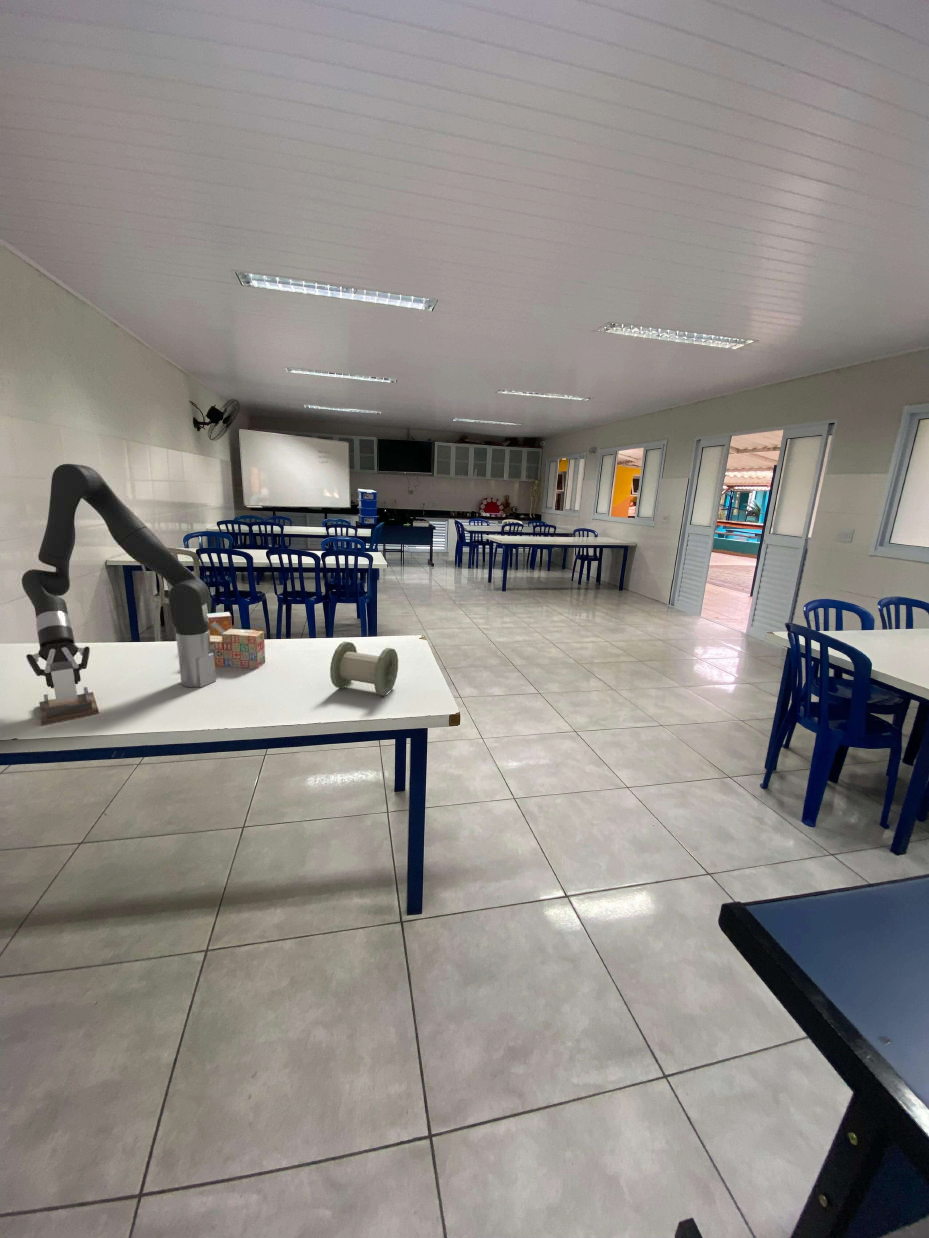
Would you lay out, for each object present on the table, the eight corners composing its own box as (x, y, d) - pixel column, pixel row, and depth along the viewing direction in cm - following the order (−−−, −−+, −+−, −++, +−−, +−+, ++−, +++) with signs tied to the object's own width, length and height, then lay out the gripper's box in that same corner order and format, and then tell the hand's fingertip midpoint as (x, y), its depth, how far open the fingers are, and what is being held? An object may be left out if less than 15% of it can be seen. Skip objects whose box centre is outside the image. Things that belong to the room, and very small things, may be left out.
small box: (210, 650, 185) (207, 617, 181) (208, 645, 190) (205, 613, 186) (233, 647, 189) (231, 615, 186) (231, 642, 194) (228, 611, 191)
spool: (397, 685, 162) (398, 643, 159) (378, 703, 148) (378, 657, 145) (353, 677, 167) (353, 636, 163) (330, 694, 153) (329, 649, 149)
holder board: (98, 713, 133) (97, 702, 132) (41, 725, 125) (39, 714, 124) (93, 695, 143) (91, 685, 142) (40, 705, 135) (37, 695, 134)
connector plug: (76, 693, 136) (70, 659, 133) (77, 698, 132) (72, 664, 130) (55, 696, 133) (49, 663, 130) (56, 702, 130) (50, 668, 127)
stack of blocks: (198, 665, 170) (195, 631, 167) (208, 659, 176) (205, 626, 173) (258, 669, 170) (256, 635, 166) (266, 662, 176) (264, 630, 172)
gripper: (19, 627, 128) (27, 685, 123) (86, 620, 137) (97, 673, 132) (22, 641, 133) (31, 696, 128) (87, 633, 143) (97, 685, 137)
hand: (64, 684), depth 130 cm, fingers closed on connector plug, 4 cm apart
